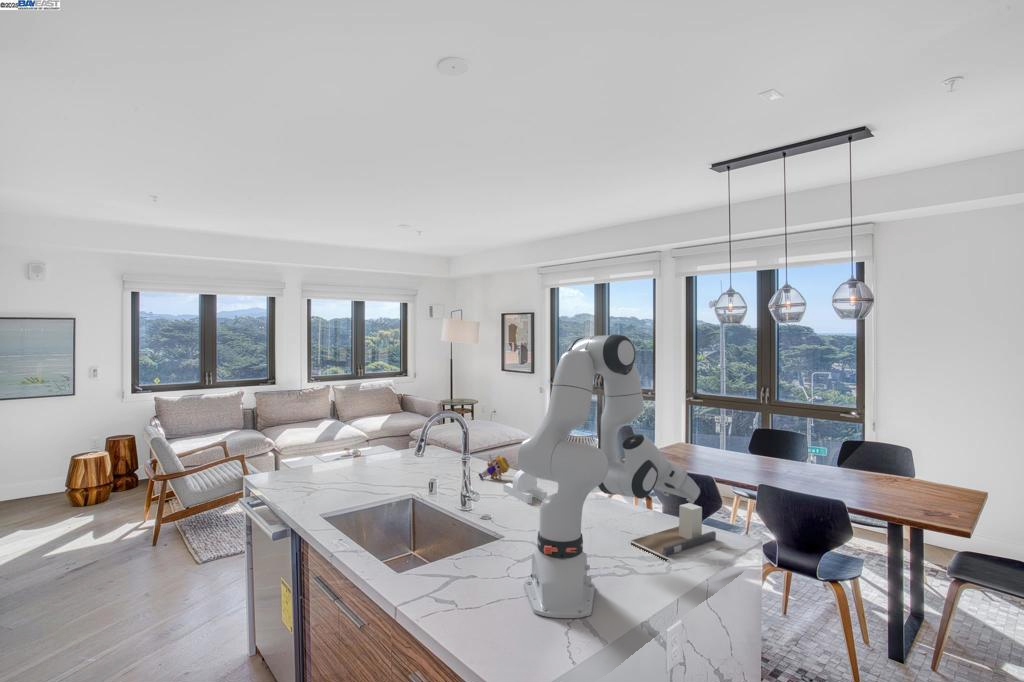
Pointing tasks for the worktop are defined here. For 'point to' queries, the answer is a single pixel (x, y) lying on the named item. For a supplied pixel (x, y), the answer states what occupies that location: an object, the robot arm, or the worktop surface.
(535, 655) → the worktop surface
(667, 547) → the price rail
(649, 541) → the spiral bound notebook
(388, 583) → the worktop surface
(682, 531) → the carton
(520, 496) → the tape dispenser
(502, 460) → the toy
